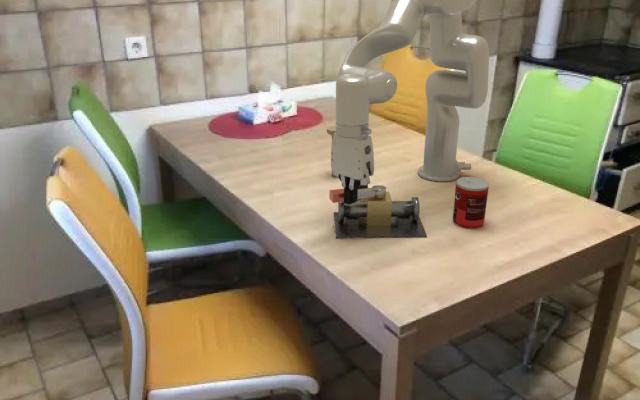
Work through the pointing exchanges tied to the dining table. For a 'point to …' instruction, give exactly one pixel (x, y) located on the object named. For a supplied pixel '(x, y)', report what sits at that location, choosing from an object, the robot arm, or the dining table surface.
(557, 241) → the dining table surface
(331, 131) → the handle
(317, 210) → the dining table surface
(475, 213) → the canned food
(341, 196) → the lever
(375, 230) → the valve
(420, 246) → the dining table surface
